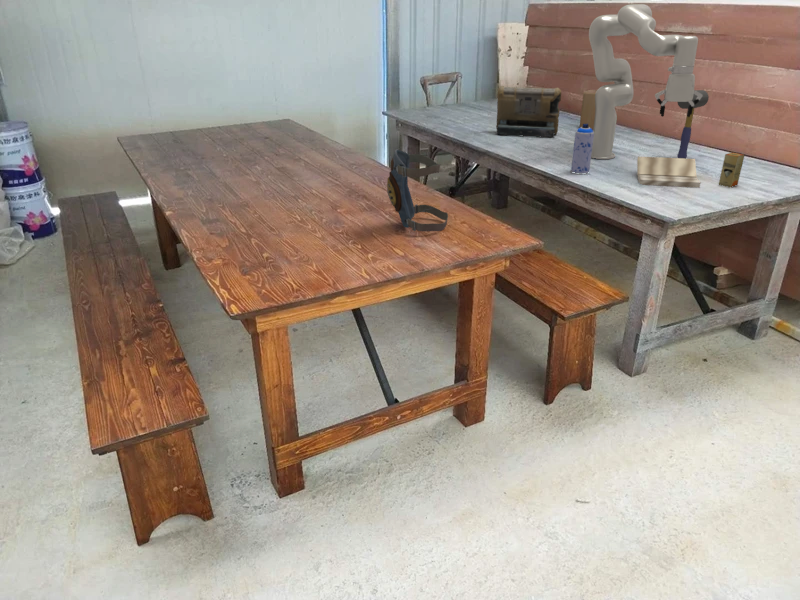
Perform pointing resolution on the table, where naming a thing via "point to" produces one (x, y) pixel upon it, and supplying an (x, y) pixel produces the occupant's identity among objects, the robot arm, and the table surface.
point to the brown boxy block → (528, 111)
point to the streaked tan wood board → (669, 180)
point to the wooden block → (588, 109)
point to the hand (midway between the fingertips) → (675, 116)
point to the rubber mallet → (689, 122)
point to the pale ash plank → (666, 166)
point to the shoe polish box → (731, 169)
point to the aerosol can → (582, 149)
